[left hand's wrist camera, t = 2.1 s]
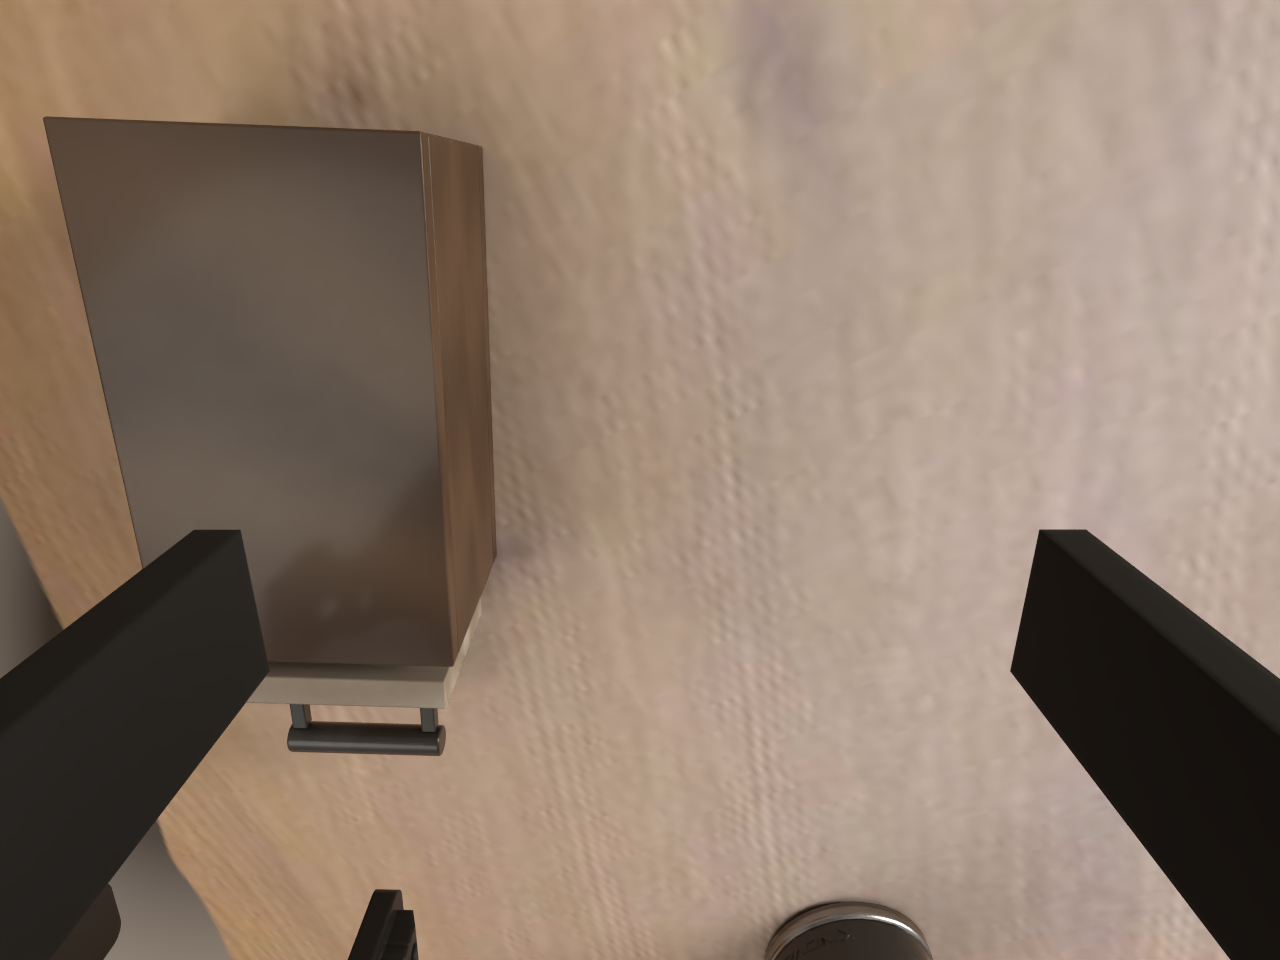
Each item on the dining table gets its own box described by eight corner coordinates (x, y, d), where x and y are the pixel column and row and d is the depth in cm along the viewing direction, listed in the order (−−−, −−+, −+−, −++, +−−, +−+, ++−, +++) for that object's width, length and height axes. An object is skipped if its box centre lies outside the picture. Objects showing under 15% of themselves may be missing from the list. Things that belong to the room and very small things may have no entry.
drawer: (485, 705, 37) (453, 814, 30) (298, 699, 37) (226, 807, 30) (465, 248, 29) (417, 265, 23) (229, 239, 29) (114, 254, 23)
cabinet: (496, 556, 35) (453, 668, 27) (272, 548, 35) (161, 659, 27) (482, 146, 29) (421, 131, 21) (210, 135, 29) (41, 116, 21)
